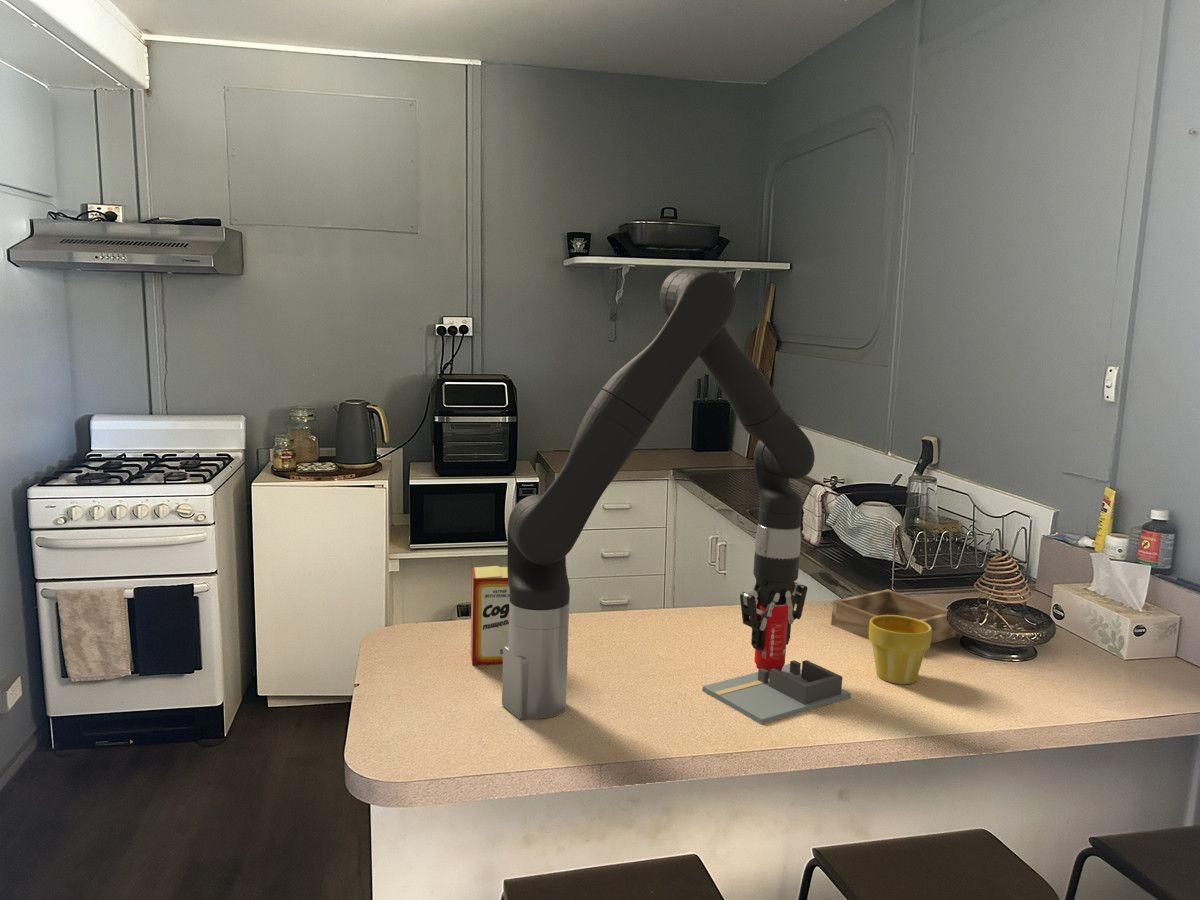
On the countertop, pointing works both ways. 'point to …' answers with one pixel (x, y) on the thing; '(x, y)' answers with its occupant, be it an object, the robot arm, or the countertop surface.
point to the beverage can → (774, 639)
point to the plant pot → (899, 646)
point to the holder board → (780, 691)
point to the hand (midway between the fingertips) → (770, 645)
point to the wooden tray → (862, 608)
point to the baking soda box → (489, 614)
